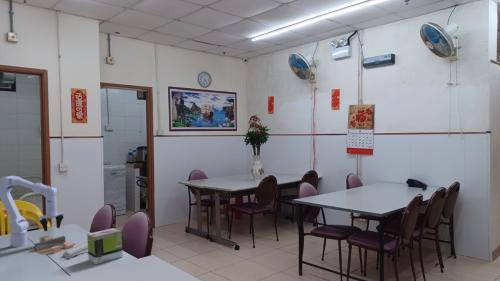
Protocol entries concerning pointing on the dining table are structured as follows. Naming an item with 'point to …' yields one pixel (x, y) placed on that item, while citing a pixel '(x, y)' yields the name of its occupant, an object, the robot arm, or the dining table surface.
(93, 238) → the tea box
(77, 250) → the tube
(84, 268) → the dining table surface
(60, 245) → the board
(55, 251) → the pink block
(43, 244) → the scraper
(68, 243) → the tile
